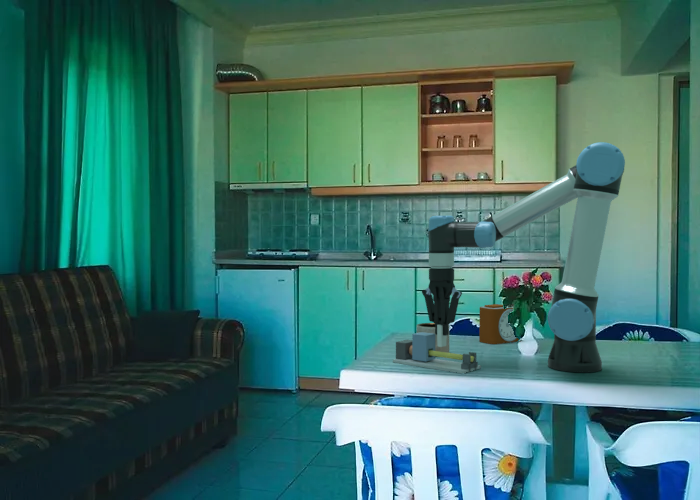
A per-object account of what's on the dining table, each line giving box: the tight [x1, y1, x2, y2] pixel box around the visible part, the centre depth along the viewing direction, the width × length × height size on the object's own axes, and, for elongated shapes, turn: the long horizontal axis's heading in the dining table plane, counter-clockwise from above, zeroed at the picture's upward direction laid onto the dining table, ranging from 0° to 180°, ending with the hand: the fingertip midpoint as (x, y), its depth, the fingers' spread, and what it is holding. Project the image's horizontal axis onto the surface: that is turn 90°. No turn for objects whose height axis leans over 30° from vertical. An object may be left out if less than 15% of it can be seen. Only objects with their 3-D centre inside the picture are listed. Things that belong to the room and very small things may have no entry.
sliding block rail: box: [392, 339, 482, 374], centre depth 198 cm, size 25×10×6 cm, turn 50°
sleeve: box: [411, 332, 436, 362], centre depth 201 cm, size 5×5×8 cm
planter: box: [416, 322, 450, 358], centre depth 217 cm, size 11×11×10 cm
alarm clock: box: [478, 303, 519, 345], centre depth 241 cm, size 15×8×14 cm, turn 123°
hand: (441, 346), depth 197 cm, fingers closed
